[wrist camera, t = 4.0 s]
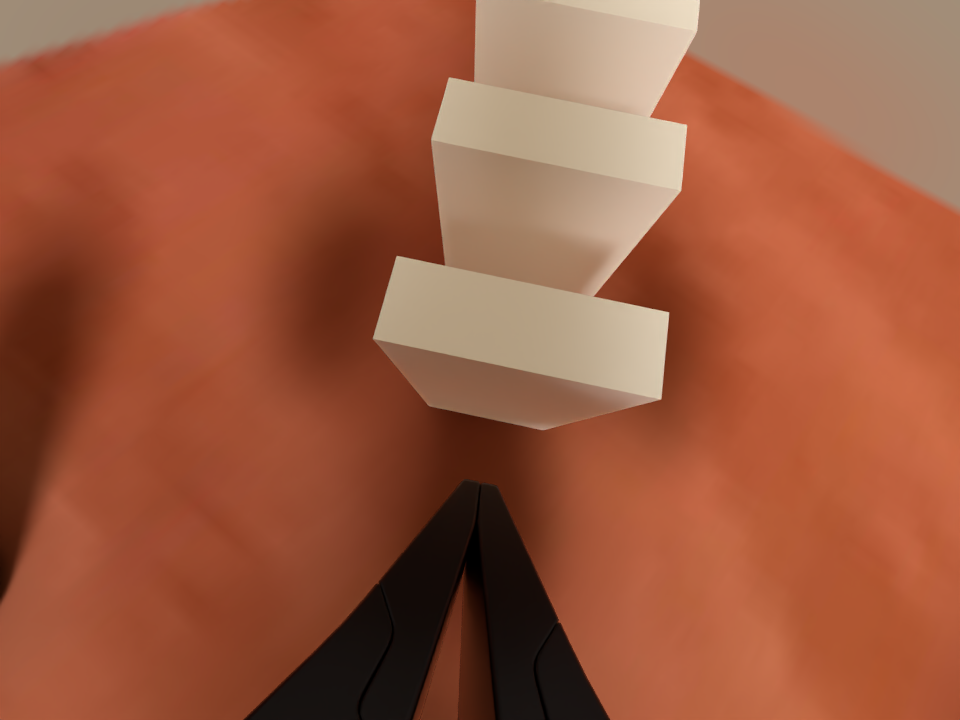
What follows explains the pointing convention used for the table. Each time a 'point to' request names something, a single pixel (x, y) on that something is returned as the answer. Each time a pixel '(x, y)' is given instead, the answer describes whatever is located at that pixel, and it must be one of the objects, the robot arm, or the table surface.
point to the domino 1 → (518, 346)
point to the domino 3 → (584, 48)
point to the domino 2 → (548, 184)
